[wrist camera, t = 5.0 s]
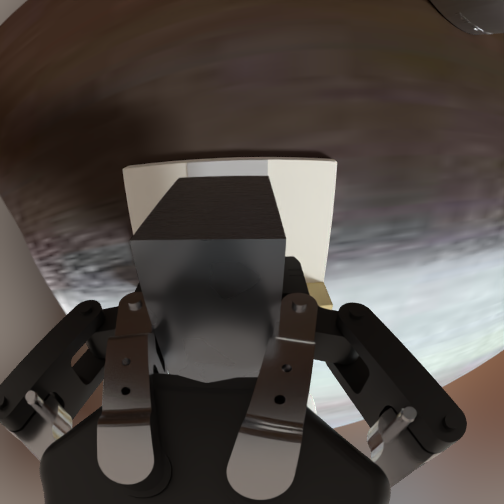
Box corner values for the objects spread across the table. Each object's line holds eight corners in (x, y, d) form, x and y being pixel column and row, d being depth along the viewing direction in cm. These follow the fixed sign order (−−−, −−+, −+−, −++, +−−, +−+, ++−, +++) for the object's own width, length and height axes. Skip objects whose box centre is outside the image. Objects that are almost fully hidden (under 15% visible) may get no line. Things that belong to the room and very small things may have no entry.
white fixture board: (127, 165, 17) (104, 179, 14) (332, 158, 17) (352, 171, 14) (176, 372, 28) (171, 400, 24) (303, 370, 28) (309, 398, 25)
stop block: (178, 177, 12) (129, 240, 7) (268, 175, 12) (286, 238, 7) (195, 312, 16) (179, 400, 11) (264, 313, 16) (270, 403, 11)
